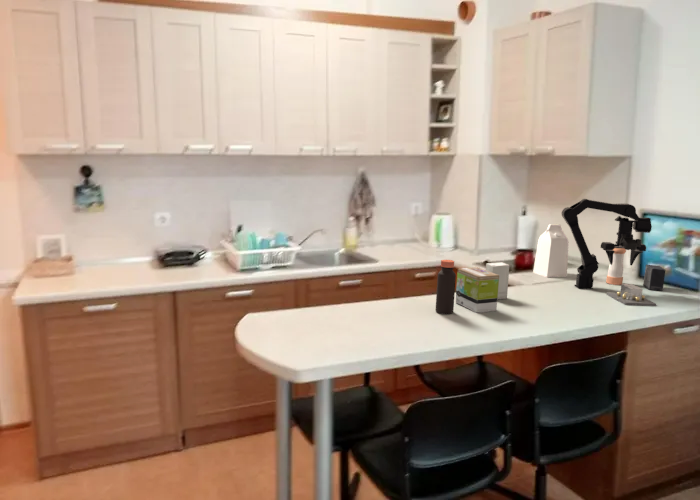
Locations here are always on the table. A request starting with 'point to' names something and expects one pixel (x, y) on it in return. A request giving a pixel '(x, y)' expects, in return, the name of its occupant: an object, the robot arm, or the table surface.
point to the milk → (552, 253)
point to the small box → (654, 277)
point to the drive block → (631, 291)
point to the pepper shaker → (616, 267)
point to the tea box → (477, 289)
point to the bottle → (445, 288)
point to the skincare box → (500, 277)
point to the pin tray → (625, 301)
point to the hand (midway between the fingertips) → (621, 264)
